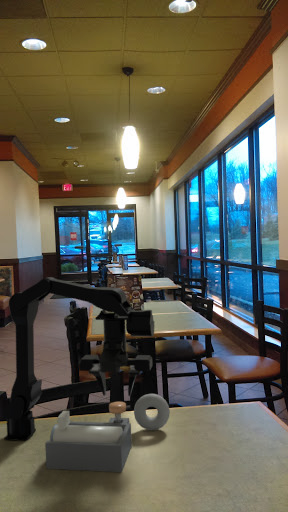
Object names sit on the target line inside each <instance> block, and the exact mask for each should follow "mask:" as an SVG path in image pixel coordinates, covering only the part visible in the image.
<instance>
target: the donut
mask: <svg viewBox="0 0 288 512" xmlns="http://www.w3.org/2000/svg"><path fill="white" fill-rule="evenodd" d="M150 407H151V408H152V407H153V408H155V409H156V410H157V414H156V415H155V416H153V417H151V416H149V415H148V414H147V409H148V408H150ZM170 411H171V410H170V406H169V403H168V402H167V401H166V399H164V397H162V396H161V395H159V394H156V393H148V394H144V395H142V396H141V397H139V398H138V399H137V401H136V402H135V405H134V409H133V415H134V420H135V421H136V422H137V424H138V426H139V427H141V428H142V429H144V430H147V431H153V432H154V431H159V430H160V429H162V428H163V427H164V426H166V424H167V423H168V421H169V419H170V413H171V412H170Z"/></svg>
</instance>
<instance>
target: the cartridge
mask: <svg viewBox="0 0 288 512" xmlns="http://www.w3.org/2000/svg"><path fill="white" fill-rule="evenodd" d="M70 417H71V416H70V410H63V411H62V412H60V414H59V415H58V417H57V424H54V425H53V427H52V429H51V431H50V435H49V441H61V442H88V443H115V444H118V442H119V440H120V437H121V435H122V433H123V430H122V427H111V426H79V425H68V424H69V423H70V422H71V420H70V419H71V418H70Z"/></svg>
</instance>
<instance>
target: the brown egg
mask: <svg viewBox="0 0 288 512" xmlns="http://www.w3.org/2000/svg"><path fill="white" fill-rule="evenodd" d="M108 410H109V413H110V414H114V418H115V423H121V418H122V414H123V413H126V411H127V403H126V402H124V401H114V402H110V403H109V404H108Z"/></svg>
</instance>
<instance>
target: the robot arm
mask: <svg viewBox="0 0 288 512" xmlns="http://www.w3.org/2000/svg"><path fill="white" fill-rule="evenodd" d="M50 294H52V295H56V296H61V297H65V298H67V299H68V298H69V299H72V300H73V299H75V300H77V301H83V302H87V303H89V304H91V305H93V306H95V307H96V308H99V309H100V310H101V311H100V312H99V314H98V315H97V316H95V320H96V321H103V346H102V351H101V354H100V356H99V355H98V354H85V355H84V356H83V357H82V358H81V359H79V361H78V370H79V371H80V372H84V371H85V372H88V374H90V375H93V376H94V377H95V379H96V381H97V383H98V385H99V388H100V390H101V392H102V393H101V394H102V395H103V396H106V394H107V385H106V384H107V381H106V373H113V374H115V373H119V372H120V370H121V368H123V367H130V369H129V371H128V386H127V387H128V388H127V395H128V397H130V396H131V395H132V391H133V387H134V385H135V384H134V383H135V382H136V379H137V376H138V375H140V374H141V373H142V372H151V369H152V367H153V357H152V356H151V355H149V354H147V355H146V354H144V355H142V354H137V356H136V357H135V358H129V355H128V352H127V337H126V336H127V335H126V334H128V335H130V337H140V338H141V337H147V338H148V337H152V338H153V337H154V335H155V320H154V315H153V310H152V309H146V310H145V309H144V310H135V309H134V307H133V306H132V304H130V302H129V301H128V299H127V294H126V293H125V291H124V290H123V289H122V288H120V287H112V286H111V287H107V286H100V287H95V286H89V285H84V284H81V283H76V282H71V281H67V280H62V279H57V278H55V277H53V276H51V277H50V276H49V277H45V278H41V279H40V280H39V281H37V282H36V283H35V284H33V285H32V286H30V287H28V288H26V289H25V290H23V291H20V292H15V293H13V294H12V295H11V296H10V298H9V299H8V308H9V313H10V317H11V318H12V319H11V320H12V322H13V323H14V325H15V373H16V374H15V380H14V382H13V385H12V387H11V393H10V399H9V403H8V404H7V405H6V406H5V407H4V408H3V410H1V414H2V417H3V419H4V420H6V435H5V436H4V438H3V439H4V440H5V441H27V440H28V439H29V438H31V436H32V435H33V434H34V433H35V432H36V431H37V428H36V425H35V416H33V410H32V409H33V408H35V405H36V403H37V402H38V401H39V399H40V398H41V395H42V394H43V389H42V383H43V382H42V381H43V380H42V379H38V378H37V377H36V375H35V355H34V354H35V349H34V348H35V347H34V346H35V344H34V343H35V342H34V323H35V320H36V317H37V316H38V315H37V314H38V311H39V305H40V302H41V301H43V300H44V299H45V298H46V297H48V296H49V295H50Z"/></svg>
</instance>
